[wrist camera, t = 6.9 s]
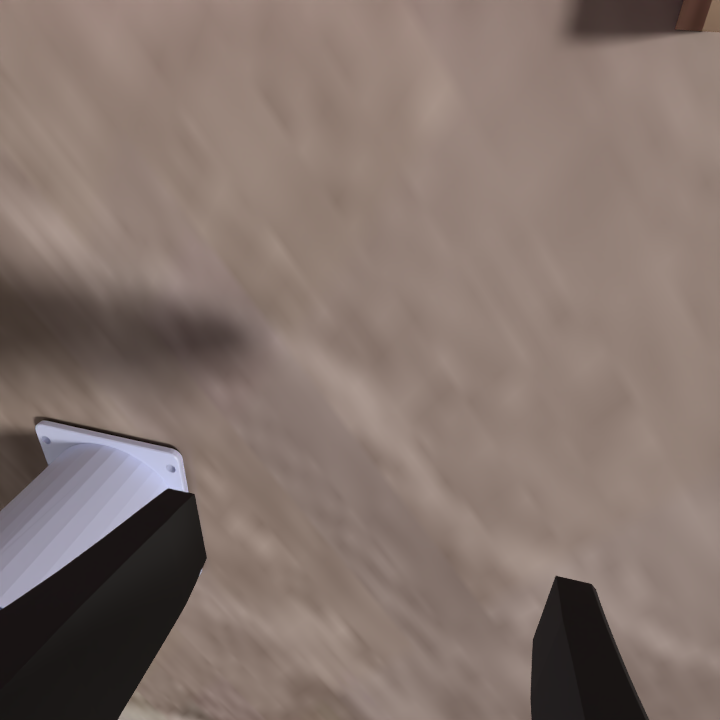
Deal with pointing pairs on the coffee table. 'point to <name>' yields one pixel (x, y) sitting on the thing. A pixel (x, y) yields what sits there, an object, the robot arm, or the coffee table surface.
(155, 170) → the coffee table surface
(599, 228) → the coffee table surface
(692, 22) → the tray
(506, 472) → the coffee table surface
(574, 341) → the coffee table surface
